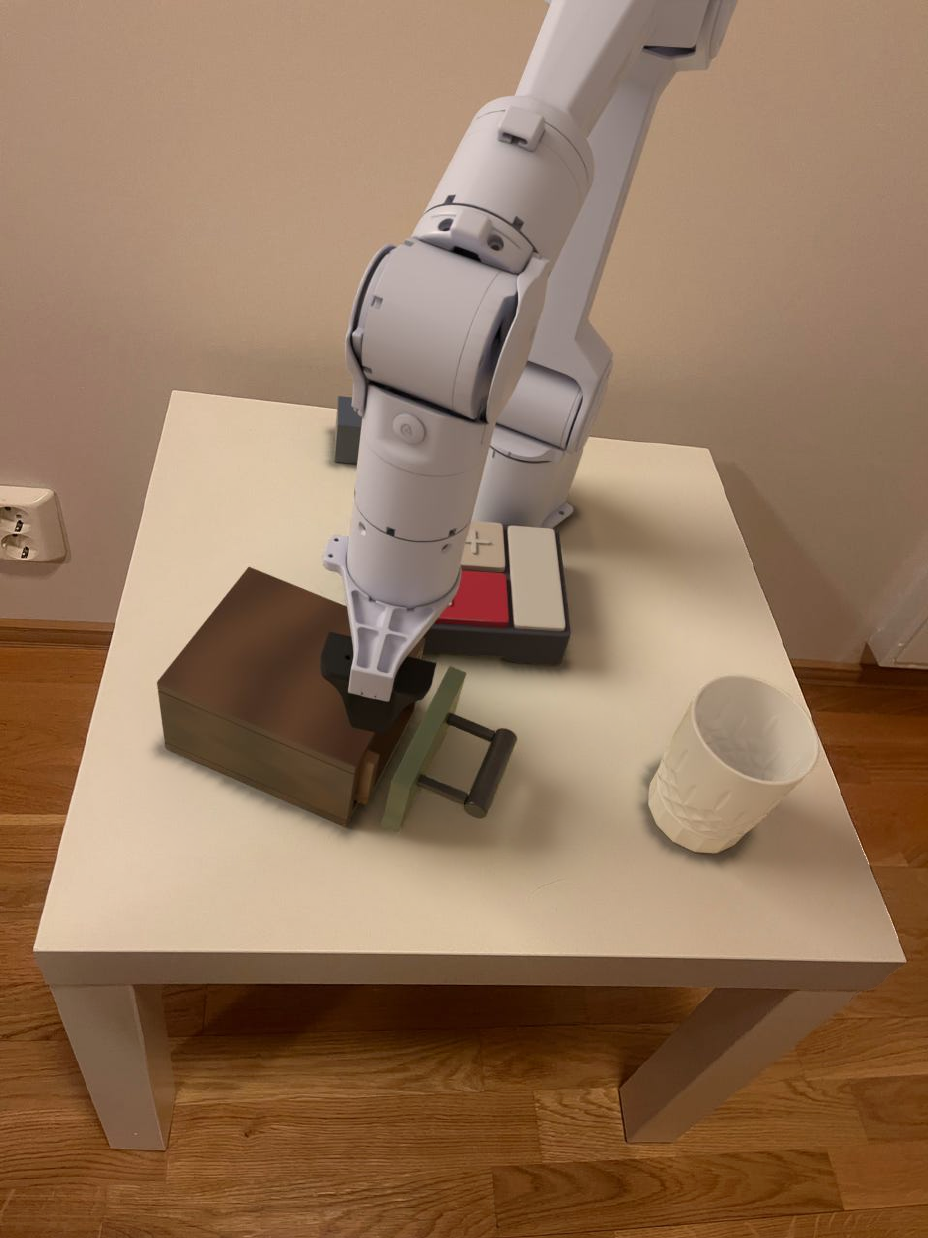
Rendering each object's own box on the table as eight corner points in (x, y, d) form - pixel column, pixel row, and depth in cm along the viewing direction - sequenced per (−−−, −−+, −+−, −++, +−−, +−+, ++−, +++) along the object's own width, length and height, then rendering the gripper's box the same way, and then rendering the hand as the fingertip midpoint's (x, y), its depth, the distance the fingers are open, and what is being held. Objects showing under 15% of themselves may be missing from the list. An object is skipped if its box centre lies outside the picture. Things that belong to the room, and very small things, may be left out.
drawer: (515, 745, 61) (533, 699, 57) (467, 863, 55) (484, 821, 51) (300, 655, 63) (303, 605, 59) (230, 760, 57) (228, 712, 53)
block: (334, 432, 81) (338, 395, 78) (379, 437, 81) (384, 400, 78) (334, 462, 78) (337, 424, 75) (380, 466, 79) (385, 429, 76)
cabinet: (411, 702, 63) (426, 638, 58) (345, 827, 56) (355, 767, 51) (248, 634, 64) (248, 565, 59) (164, 748, 57) (156, 682, 52)
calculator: (368, 505, 69) (561, 520, 71) (366, 545, 73) (550, 558, 74) (360, 616, 62) (574, 630, 64) (358, 654, 66) (562, 666, 67)
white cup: (751, 877, 59) (824, 800, 51) (634, 844, 59) (689, 763, 51) (750, 775, 64) (815, 692, 57) (642, 746, 64) (693, 659, 57)
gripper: (365, 393, 48) (345, 570, 58) (289, 588, 38) (281, 760, 48) (496, 424, 48) (453, 595, 58) (453, 627, 38) (411, 790, 48)
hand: (383, 672), depth 53 cm, fingers open, 7 cm apart
